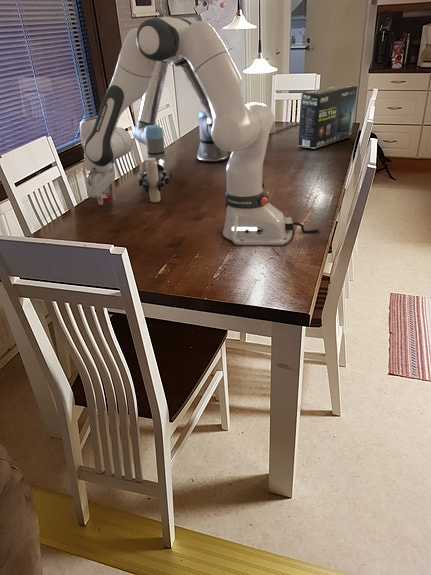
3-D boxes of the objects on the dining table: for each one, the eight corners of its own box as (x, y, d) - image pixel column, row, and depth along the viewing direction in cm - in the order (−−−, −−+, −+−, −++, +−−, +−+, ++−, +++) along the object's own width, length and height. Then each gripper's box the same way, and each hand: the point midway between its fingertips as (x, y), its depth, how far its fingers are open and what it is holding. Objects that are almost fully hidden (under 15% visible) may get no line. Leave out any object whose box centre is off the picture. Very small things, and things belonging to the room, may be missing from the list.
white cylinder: (156, 202, 177) (152, 160, 168) (148, 201, 178) (143, 159, 170) (162, 199, 180) (158, 157, 171) (153, 197, 181) (149, 156, 173)
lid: (97, 198, 173) (96, 194, 172) (110, 197, 173) (110, 193, 172) (97, 203, 168) (96, 199, 167) (110, 202, 169) (110, 197, 168)
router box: (314, 151, 231) (318, 94, 217) (296, 148, 237) (299, 92, 224) (352, 138, 251) (358, 85, 238) (335, 135, 258) (340, 83, 245)
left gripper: (177, 177, 193) (176, 196, 173) (136, 179, 193) (130, 199, 172) (176, 159, 189) (175, 177, 169) (134, 161, 189) (128, 179, 169)
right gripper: (96, 173, 155) (102, 211, 162) (115, 156, 172) (120, 192, 179) (78, 173, 155) (85, 211, 163) (99, 156, 173) (105, 191, 180)
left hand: (152, 188), depth 171 cm, fingers closed on white cylinder, 4 cm apart
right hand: (104, 201), depth 171 cm, fingers closed on lid, 5 cm apart
